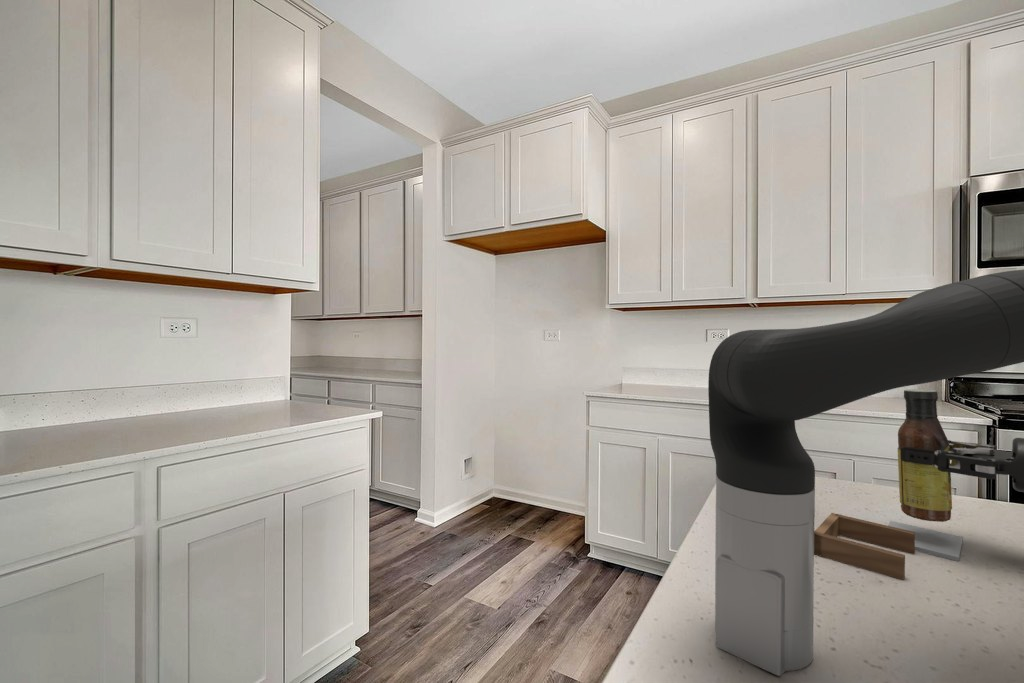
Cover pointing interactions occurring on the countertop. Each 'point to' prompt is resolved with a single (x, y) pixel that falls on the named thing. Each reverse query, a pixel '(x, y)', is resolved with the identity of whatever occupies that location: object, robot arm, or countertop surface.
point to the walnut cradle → (861, 553)
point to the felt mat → (934, 541)
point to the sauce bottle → (921, 483)
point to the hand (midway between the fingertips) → (904, 449)
